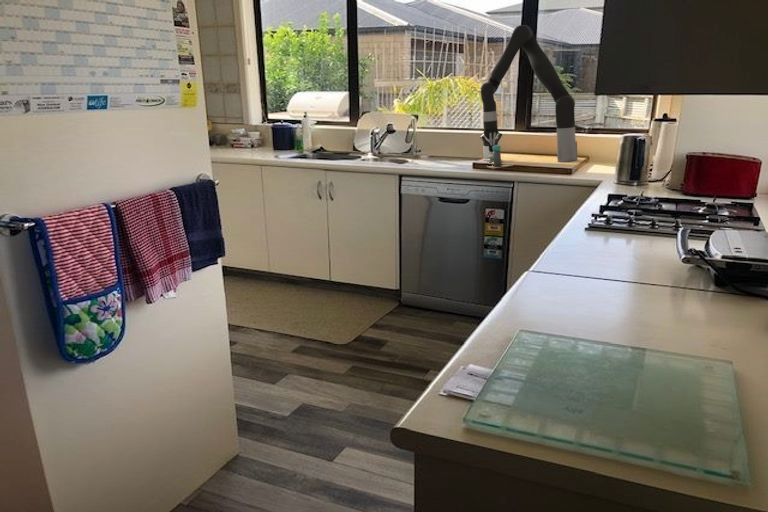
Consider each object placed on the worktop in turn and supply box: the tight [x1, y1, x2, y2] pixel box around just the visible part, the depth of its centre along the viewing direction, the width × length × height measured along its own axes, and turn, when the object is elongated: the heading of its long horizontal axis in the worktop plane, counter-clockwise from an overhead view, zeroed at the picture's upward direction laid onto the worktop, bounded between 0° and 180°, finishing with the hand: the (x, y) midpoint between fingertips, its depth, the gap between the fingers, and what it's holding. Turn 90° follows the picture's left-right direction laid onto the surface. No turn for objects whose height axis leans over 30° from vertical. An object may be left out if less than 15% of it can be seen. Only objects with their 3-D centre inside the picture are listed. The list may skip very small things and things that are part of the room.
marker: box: [493, 144, 502, 167], centre depth 316 cm, size 4×4×11 cm
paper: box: [485, 164, 514, 169], centre depth 319 cm, size 12×9×1 cm
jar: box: [482, 141, 499, 160], centre depth 338 cm, size 9×8×12 cm
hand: (491, 151), depth 327 cm, fingers closed
